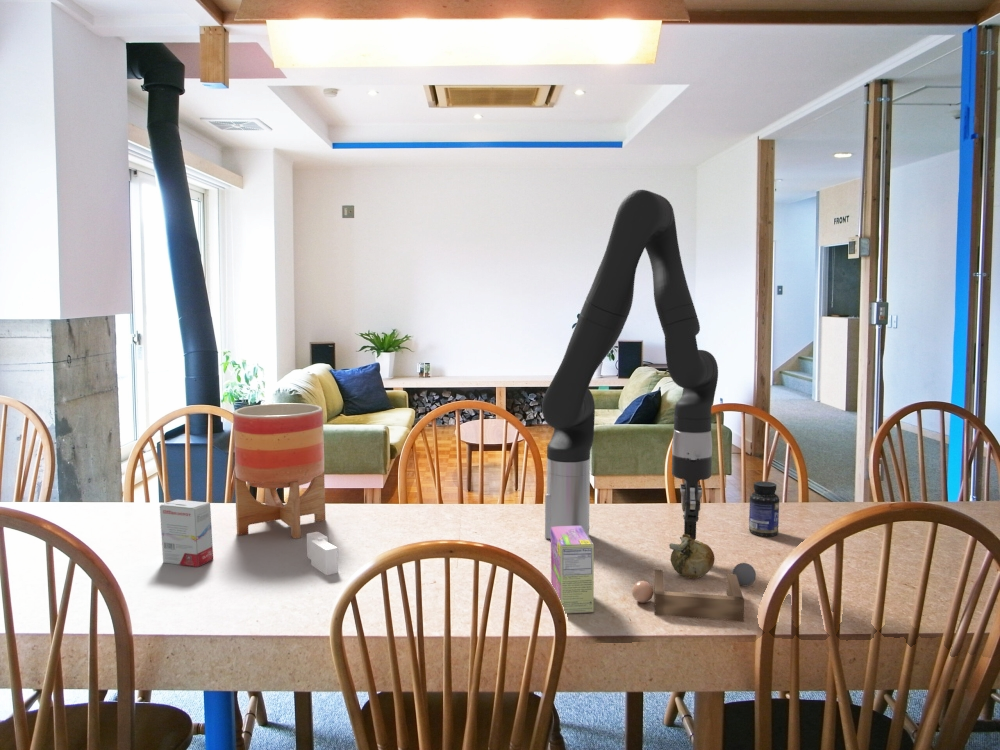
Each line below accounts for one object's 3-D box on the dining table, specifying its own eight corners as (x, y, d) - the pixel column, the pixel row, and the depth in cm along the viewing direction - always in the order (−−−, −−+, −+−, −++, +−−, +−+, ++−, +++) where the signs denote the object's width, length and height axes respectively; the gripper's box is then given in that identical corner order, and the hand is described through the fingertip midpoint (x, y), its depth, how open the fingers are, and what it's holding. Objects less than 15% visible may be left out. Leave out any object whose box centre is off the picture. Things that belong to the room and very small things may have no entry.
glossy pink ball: (631, 605, 129) (631, 584, 129) (631, 597, 133) (632, 576, 132) (653, 606, 129) (653, 586, 128) (652, 598, 132) (653, 578, 132)
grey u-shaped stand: (654, 614, 125) (655, 594, 125) (653, 588, 137) (654, 569, 136) (743, 621, 123) (744, 600, 123) (735, 593, 134) (735, 574, 134)
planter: (341, 530, 170) (338, 410, 167) (251, 547, 159) (246, 419, 156) (309, 509, 186) (306, 400, 184) (225, 523, 175) (220, 407, 172)
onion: (709, 586, 138) (711, 543, 137) (665, 579, 141) (666, 537, 140) (717, 572, 144) (718, 531, 144) (674, 566, 148) (675, 525, 147)
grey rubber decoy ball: (733, 588, 137) (734, 566, 136) (731, 580, 140) (731, 559, 140) (757, 590, 136) (757, 568, 135) (753, 581, 140) (754, 560, 139)
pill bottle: (780, 538, 164) (782, 487, 163) (750, 536, 166) (752, 486, 164) (775, 529, 170) (777, 480, 169) (747, 527, 172) (748, 479, 170)
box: (550, 590, 136) (550, 525, 135) (581, 589, 136) (582, 524, 135) (559, 615, 126) (559, 545, 124) (593, 613, 126) (594, 544, 125)
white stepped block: (344, 580, 142) (344, 550, 141) (283, 580, 142) (282, 550, 141) (360, 553, 157) (360, 525, 156) (305, 552, 157) (304, 525, 156)
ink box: (214, 559, 152) (212, 501, 150) (197, 568, 147) (194, 508, 146) (179, 554, 154) (176, 497, 153) (161, 562, 150) (158, 504, 149)
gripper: (670, 445, 156) (669, 527, 158) (673, 459, 143) (671, 549, 145) (708, 446, 155) (706, 529, 157) (714, 460, 142) (712, 551, 144)
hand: (689, 538), depth 151 cm, fingers closed
